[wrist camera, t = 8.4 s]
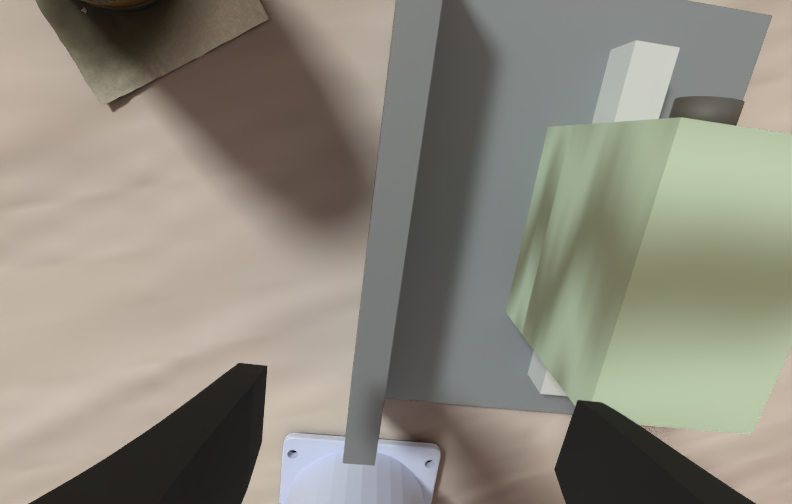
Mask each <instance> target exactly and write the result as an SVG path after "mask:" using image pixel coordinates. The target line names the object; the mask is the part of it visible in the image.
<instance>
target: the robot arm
mask: <svg viewBox="0 0 792 504" xmlns="http://www.w3.org/2000/svg"><path fill="white" fill-rule="evenodd" d="M266 377H267V366H263V365H253V364H244V363H238V364H237V365H236V366H234V367H233V368H232V369H230V370H229V371H227V372H226V373H225V374H223V375H222V376H221V377H220V378H218V379H217V380H216V381H214V382H213V383H212V384H210V385H209V386H208V387H207V388H205V389H204V390H203V391H201V392H200V393H199V394H197V395H196V396H195V397H193V398H192V399H191V400H189V401H188V402H187V403H185V404H184V405H183V406H181V407H180V408H178V409H177V410H176V411H174V412H173V413H172V414H170V415H169V416H167V417H166V418H165V419H163V420H162V421H161V422H159V423H158V424H156V425H155V426H153V427H152V428H151V429H149V430H148V431H146V432H145V433H143V434H142V435H140V436H139V437H137V438H136V439H134V440H133V441H131V442H130V443H128V444H127V445H125V446H124V447H122V448H121V449H119V450H118V451H116V452H115V453H113V454H112V455H110V456H109V457H107V458H105V459H104V460H102V461H101V462H99V463H98V464H96V465H94V466H93V467H91V468H89V469H88V470H86V471H84V472H83V473H81V474H79V475H78V476H76V477H74V478H73V479H71V480H69V481H67V482H66V483H64V484H62V485H60V486H59V487H57V488H55V489H54V490H52V491H50V492H48V493H47V494H45V495H43V496H41V497H40V498H38V499H36V500H34V501H33V502H31V503H29V504H241V503H242V501H243V498H244V496H245V493H246V491H247V488H248V485H249V482H250V479H251V476H252V472H253V469H254V466H255V463H256V459H257V456H258V453H259V450H260V446H261V443H262V431H263V418H264V404H265V391H266ZM344 445H345V437H344V436H331V435H318V434H305V433H290V434H288V435H287V436H286V437H285V441H284V444H283V456H282V471H281V486H280V501H279V504H431V502H432V497H433V492H434V487H435V482H436V477H437V472H438V467H439V462H440V457H441V453H440V448H439V447H438V446H437V445H436V444H433V443H423V442H409V441H396V440H383V439H379V440H378V446H377V453H376V460H375V466H373V465H358V464H344V463H343V454H344ZM290 450H295V451H296V452H291V451H290ZM428 460H432V461H431V462H426V461H428ZM554 470H555V473H556V476H557V479H558V482H559V485H560V488H561V491H562V494H563V496H564V499H565V502H566V504H756V503H754V502H752V501H751V500H749V499H748V498H746V497H745V496H743V495H741V494H740V493H738V492H737V491H735V490H734V489H732V488H731V487H729V486H728V485H726V484H725V483H723V482H722V481H720V480H719V479H717V478H716V477H714V476H713V475H711V474H710V473H708V472H707V471H705V470H704V469H702V468H701V467H699V466H698V465H696V464H695V463H693V462H692V461H690V460H689V459H688V458H686V457H685V456H683V455H682V454H680V453H679V452H677V451H676V450H674V449H673V448H671V447H670V446H669V445H667V444H666V443H664V442H663V441H661V440H660V439H658V438H657V437H655V436H654V435H653V434H651V433H650V432H648V431H647V430H645V429H644V428H642V427H641V426H639V425H638V424H636V423H635V422H633V421H632V420H630V419H629V418H627V417H626V416H624V415H622V414H621V413H619V412H618V411H616V410H614V409H613V408H611V407H609V406H608V405H606V404H604V403H602V402H593V401H584V400H577V403H576V406H575V409H574V412H573V415H572V418H571V421H570V424H569V427H568V430H567V433H566V436H565V439H564V442H563V445H562V448H561V451H560V454H559V457H558V460H557V463H556V466H555V469H554Z"/></svg>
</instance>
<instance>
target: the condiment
mask: <svg viewBox="0 0 792 504" xmlns="http://www.w3.org/2000/svg"><path fill="white" fill-rule="evenodd" d="M36 2H37V4H38V6H39V8H40V10H41V12H42V13H43V15H44V17H45V18H46V19H47V20H48V22H49V23H50V24H51V26H52V27H53V29H54V30H55V32H56V33H57V35H58V37H59V39H60V41H61V42H62V43H63V44H64V46H65V47H66V49H67V50H68V52H69V54H70V55H71V57H72V58H73V60H74V61H75V63H76V65H77V66H78V68H79V70H80V72H81V74H82V75H83V77H84V79H85V81H86V82H87V84H88V85H89V87H90V88H91V89H92V91H93V92H94V94H95V95H96V97H97V99H98V100H99V102H100V103H101V105H105V104H107V103H109V102H111V101H113V100H115V99H117V98H118V97H120V96H123V95H126V94H128V93H130V92H132V91H134V90H136V89H138V88H140V87H142V86H144V85H146V84H148V83H149V82H151V81H153V80H154V79H157V78H159V77H162V76H164V75H165V74H167V73H169V72H171V71H173V70H175V69H177V68H179V67H181V66H182V65H184V64H186V63H188V62H190V61H192V60H194V59H196V58H199V57H200V56H203V55H204V54H205V53H207V52H209V51H210V50H212V49H214V48H216V47H217V46H220V45H221V44H223V43H225V42H227V41H230V40H232V39H234V38H236V37H238V36H239V35H241V34H242V33H244V32H246V31H248V30H249V29H251V28H253V27H255V26H257V25H259V24H261V23H263V22H265V21H266V20H268V19H269V18H268V16H267V14H266V12H265V10H264V8H263V6H262V4H261V2H260V0H36ZM83 7H85V8H86V9H87V13H86V14H85V13H84V12H82V11H81V9H82V8H83Z"/></svg>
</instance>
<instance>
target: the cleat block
mask: <svg viewBox="0 0 792 504" xmlns="http://www.w3.org/2000/svg"><path fill="white" fill-rule="evenodd" d="M743 105H744V101H742V100H739V99H734V98H726V97H715V96H687V97H679V98H675V99H674V102H673V105H672V109H671V112H670V115H669V118H664V119H650V120H636V121H622V122H608V123H594V124H581V125H567V126H553V127H548V129H547V133H546V138H545V142H544V147H543V151H542V155H541V160H540V164H539V169H538V173H537V177H536V182H535V186H534V191H533V195H532V199H531V204H530V208H529V212H528V217H527V221H526V226H525V230H524V234H523V239H522V243H521V248H520V252H519V256H518V261H517V265H516V270H515V274H514V278H513V283H512V287H511V292H510V296H509V300H508V305H507V309H506V314H507V315H508V316H509V318H510V319H511V320H512V322H513V323H514V324H515V326H516V327H517V328H518V330H519V331H520V332H521V334H522V335H523V337H524V338H525V339H526V341H527V342H528V343H529V345H530V346H531V347H532V349H533V350H534V351H535V353H536V354H537V355H538V357H539V358H540V360H541V361H542V362H543V364H544V365H545V366H546V368H547V369H548V370H549V372H550V373H551V374H552V376H553V377H554V378H555V380H556V381H557V382H558V384H559V385H560V387H561V388H562V389H563V391H564V392H565V393H566V395H567V396H568V397H569V399H570V400H571V401H572V403H573V404H574V405H575V406H576V403H577V400H584V401H593V402H602V403H604V404H606V405H608V406H609V407H611V408H613V409H614V410H616V411H618V412H619V413H621V414H622V415H624V416H626V417H627V418H629V419H630V420H632V421H633V422H635V423H636V424H638V425H644V426H656V427H668V428H680V429H692V430H704V431H716V432H728V433H740V434H752V433H753V431H754V428H755V426H756V424H757V422H758V420H759V417H760V415H761V413H762V411H763V409H764V406H765V404H766V402H767V400H768V398H769V396H770V393H771V391H772V389H773V387H774V385H775V382H776V380H777V378H778V376H779V374H780V371H781V369H782V367H783V365H784V363H785V360H786V358H787V356H788V354H789V352H790V349H791V347H792V134H787V133H781V132H774V131H768V130H761V129H754V128H748V127H741V126H736V125H737V122H738V119H739V117H740V114H741V111H742V108H743Z"/></svg>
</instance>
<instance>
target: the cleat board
mask: <svg viewBox="0 0 792 504" xmlns="http://www.w3.org/2000/svg"><path fill="white" fill-rule="evenodd" d="M771 18H772V15H766V14H761V13H755V12H749V11H744V10H738V9H733V8H727V7H721V6H716V5H710V4H705V3H699V2H693V1H688V0H396V4H395V13H394V21H393V30H392V39H391V47H390V56H389V64H388V73H387V81H386V90H385V98H384V107H383V115H382V124H381V132H380V141H379V150H378V158H377V167H376V175H375V184H374V192H373V201H372V209H371V218H370V226H369V235H368V243H367V252H366V261H365V269H364V278H363V286H362V295H361V303H360V312H359V320H358V329H357V337H356V346H355V355H354V363H353V372H352V380H351V389H350V399H349V408H348V417H347V426H346V436H345V445H344V454H343V463H344V464H358V465H373V466H375V460H376V453H377V446H378V440H379V433H380V426H381V419H382V412H383V405H384V398H386V399H398V400H410V401H421V402H433V403H445V404H457V405H468V406H480V407H492V408H504V409H516V410H527V411H539V412H551V413H563V414H573V412H574V409H575V405H574V404H573V403H572V401H571V400H570V399H569V397H568V396H567V395H566V393H565V392H564V391H563V389H562V388H561V387H560V385H559V384H558V382H557V381H556V380H555V378H554V377H553V376H552V374H551V373H550V372H549V370H548V369H547V368H546V366H545V365H544V364H543V362H542V361H541V360H540V358H539V357H538V355H537V354H536V353H535V351H534V350H533V349H532V347H531V346H530V345H529V343H528V342H527V341H526V339H525V338H524V337H523V335H522V334H521V332H520V331H519V330H518V328H517V327H516V326H515V324H514V323H513V322H512V320H511V319H510V318H509V316H508V315H507V314H506V309H507V305H508V300H509V296H510V292H511V287H512V283H513V278H514V274H515V270H516V265H517V261H518V256H519V252H520V248H521V243H522V239H523V234H524V230H525V226H526V221H527V217H528V212H529V208H530V204H531V199H532V195H533V191H534V186H535V182H536V177H537V173H538V169H539V164H540V160H541V155H542V151H543V147H544V142H545V138H546V133H547V129H548V127H553V126H567V125H581V124H594V123H608V122H622V121H636V120H650V119H664V118H669V115H670V112H671V109H672V105H673V102H674V99H675V98H679V97H687V96H715V97H726V98H734V99H739V100H742V101H743V98H744V95H745V92H746V90H747V87H748V84H749V81H750V78H751V75H752V72H753V70H754V67H755V64H756V61H757V58H758V55H759V52H760V50H761V47H762V44H763V41H764V38H765V35H766V33H767V30H768V27H769V24H770V21H771Z"/></svg>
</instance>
